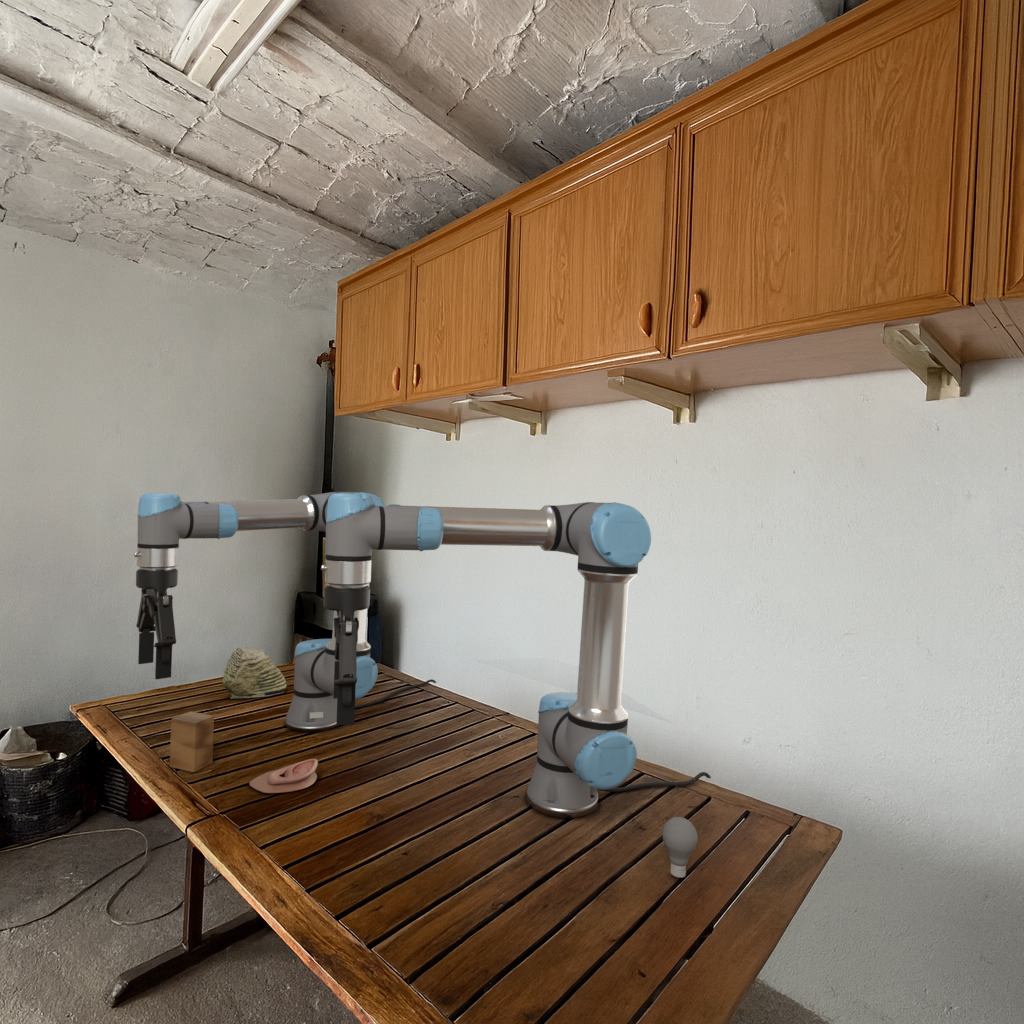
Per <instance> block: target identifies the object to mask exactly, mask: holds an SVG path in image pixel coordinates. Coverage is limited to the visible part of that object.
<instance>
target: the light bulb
mask: <svg viewBox="0 0 1024 1024" xmlns="http://www.w3.org/2000/svg"><path fill="white" fill-rule="evenodd" d="M661 833H662V834H661V835H662V841H663V843H664V845H665V847H666V850H667V852H668V858H669V861H670V874H671V875H672V876H673V877H675V878H678V879H679V878H680V879H681V878H685V877H686V875H687V864H688V863H689V860H690V857H691V855H692V854H693V852H694V851H695V850H696V847H697V845H698V841H699V837H698V831H697V829H696V827H695V825H694V824H693V823H692V822H691V821H690V820H689V819H687V818H685V817H682V816H674V817H672V818H670V819H669V820H667V821H666V823H665V824H664V826H663V828H662V831H661Z"/></svg>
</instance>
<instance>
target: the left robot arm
mask: <svg viewBox="0 0 1024 1024" xmlns="http://www.w3.org/2000/svg"><path fill="white" fill-rule="evenodd" d="M334 493H347V494H369V495H371V496H372V497H373V502H374V505H376V506H382V507H385V506H387V505H386V503H384V501H383V500H382V499H381V498H380V497H379V496H377V495H376V494H373V493H371V492H370V493H368V492H364V491H357V492H356V491H332V492H331V491H329V492H325V493H317V494H316V493H315V494H301V495H300V496H299V497H297V498H293V499H292V498H289V499H288V498H287V499H250V500H249V499H247V500H245V499H244V500H210V501H209V500H208V501H207V500H206V501H183V500H182V501H181V496H180V495H179V494H176V493H155V492H153V493H152V492H146V493H143V494H141V495H140V496H139V500H138V508H137V514H136V517H137V544H136V545H137V548H136V549H137V550H136V551H137V552H134V553H133V557H134V558H136V566H137V567H138V569H137V570H136V571H135V587H137V588H138V589H141V591H140V592H141V595H140V596H141V597H140V602H139V607H138V608H139V609H138V615H137V620H136V625H135V626H136V628H137V630H138V632H139V633H138V658H137V659H138V661H137V664H138V665H147V664H152V663H154V657H155V665H154V666H155V669H154V670H155V672H154V679H155V680H164V679H169V678H172V664H173V663H172V661H173V646H174V645H176V643H177V638H176V637H177V636H176V627H175V618H174V607H173V603H174V602H173V599H174V597H173V595H172V594H168V589H172V588H176V587H177V586H178V584H179V583H178V580H179V579H178V578H179V570H178V569H177V568H176V567H178V566H179V558H180V557H179V555H180V544H179V543H180V540H187V539H217V540H220V539H229V538H232V537H233V536H235V534H236V533H237V532H243V531H260V530H262V531H263V530H278V529H295V528H298V529H299V530H301V531H302V532H306V531H317V532H324V533H326V518H327V507H328V499H329V497H330V496H331V495H332V494H334ZM372 552H373V551H372ZM372 552H371V556H372V555H373V554H372ZM367 586H369V587H370V583H369V584H367ZM368 608H369V607H368ZM368 608H367V609H364V610H357V611H355V612H354V615H355V618H358V620H359V630H358V642H357V645H356V677H357V683H356V690H355V701H357V700H360V699H362V698H364V697H365V696H367V694H369V692H370V691H371V690H372V689H373V688H374V685H375V684H376V682H377V679H378V673H379V669H378V665H377V663H376V661H375V660H374V659H373V658H372V657H371V648H372V646H371V644H370V643H369V642H368V641H367V640H366V639H367V637H366V636H367V625H368V610H369V609H368ZM334 618H337V612H336V611H333V619H334ZM332 623H333V624H332V636H331V638H318V639H308V640H304V641H300V642H299V643H297V644H296V646H295V650H294V655H293V657H294V672H293V673H294V674H293V695H292V696H293V697H292V699H291V702H290V704H289V708H288V711H287V713H286V715H285V726H286V728H287V729H289V730H291V731H294V732H295V731H296V732H301V733H316V732H325V731H329V730H332V729H335V728H337V727H339V726H340V725H338V726H337V698H336V699H334V698H333V696H334V667H335V661H338V660H335V652H334V649H335V642H336V638H335V635H334V620H333V622H332ZM155 634H156V639H157V640H156V641H157V642H155ZM154 651H155V652H154ZM154 654H155V656H154ZM350 676H352V675H350ZM430 683H433V684H437V681H436V680H435V679H431V678H430V679H428V680H426V681H424V682H422V683H417V684H413V685H409V686H406V687H403V688H400V689H398V690H396V691H394V692H391V693H389V694H387V695H386V696H384V697H381V698H380V699H377V700H375V701H371V702H367V703H362V704H355V709H360V708H364V707H368V706H372V705H376V704H379V703H381V702H383V701H386V700H387V699H389V698H391V697H393V696H395V695H397V694H398V693H401V692H404V691H408V690H410V689H415V688H418V687H423V686H425V685H428V684H430Z"/></svg>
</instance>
